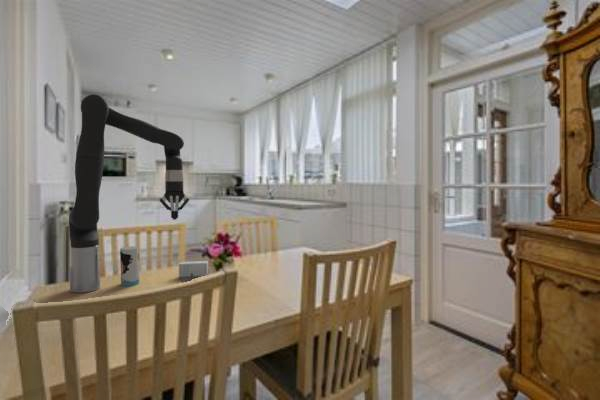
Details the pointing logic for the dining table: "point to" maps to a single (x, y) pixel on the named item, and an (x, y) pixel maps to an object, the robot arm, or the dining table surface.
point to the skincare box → (193, 268)
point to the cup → (129, 265)
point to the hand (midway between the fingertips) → (174, 219)
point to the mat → (188, 278)
